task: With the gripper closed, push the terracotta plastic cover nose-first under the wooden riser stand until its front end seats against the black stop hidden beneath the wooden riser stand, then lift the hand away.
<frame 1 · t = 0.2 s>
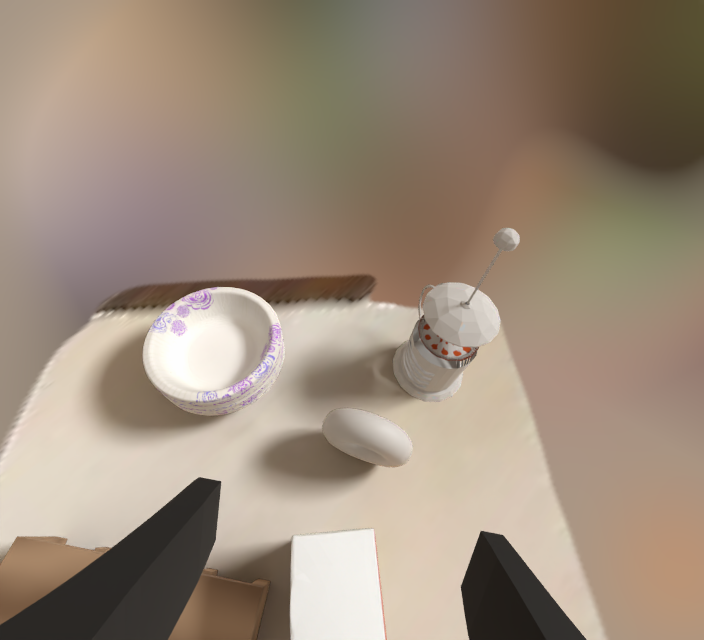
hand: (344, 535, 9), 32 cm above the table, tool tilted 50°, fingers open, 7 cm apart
paper bowls: (229, 367, 45), on the table
small box: (332, 580, 34), on the table
wooden riser stand: (139, 617, 32), on the table
donut: (361, 448, 41), on the table
french press: (425, 362, 48), on the table
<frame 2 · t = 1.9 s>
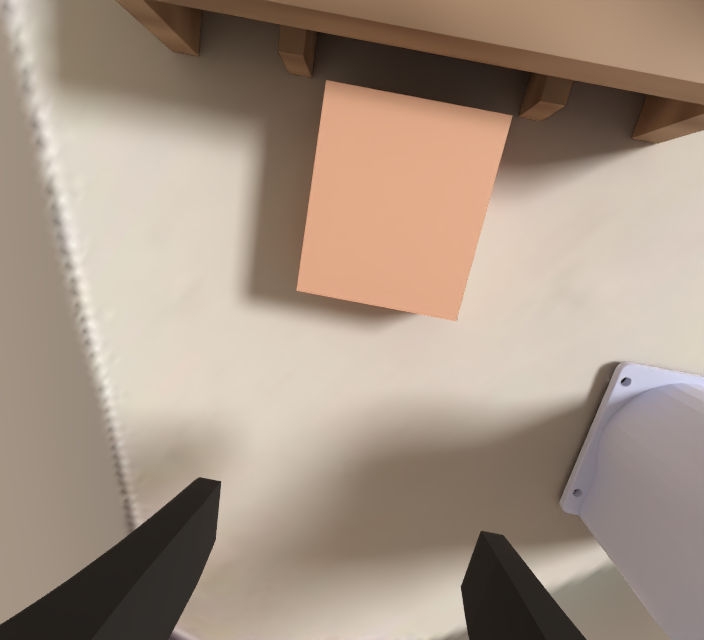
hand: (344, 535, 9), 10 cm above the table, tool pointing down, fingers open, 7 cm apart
cover: (391, 213, 17), on the table
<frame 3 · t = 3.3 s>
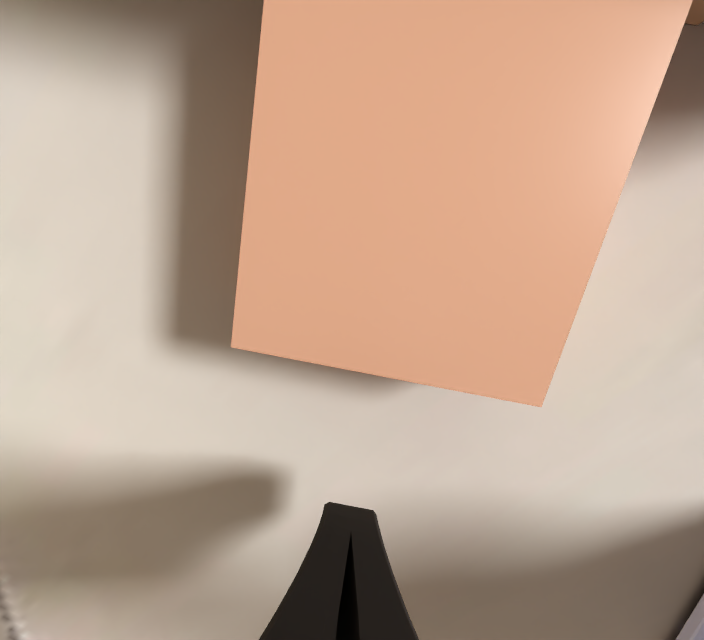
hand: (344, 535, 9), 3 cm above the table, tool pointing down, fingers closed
cover: (411, 200, 9), on the table
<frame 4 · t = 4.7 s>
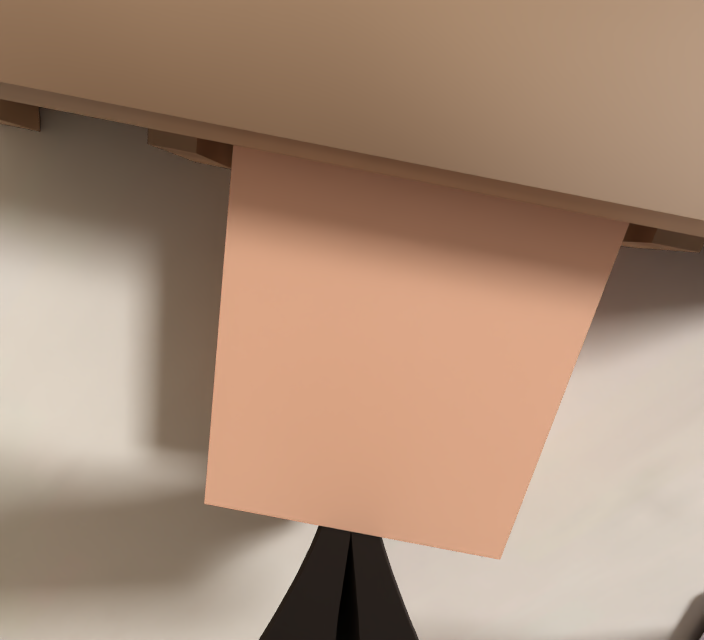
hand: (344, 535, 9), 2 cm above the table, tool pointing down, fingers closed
cover: (382, 332, 10), on the table
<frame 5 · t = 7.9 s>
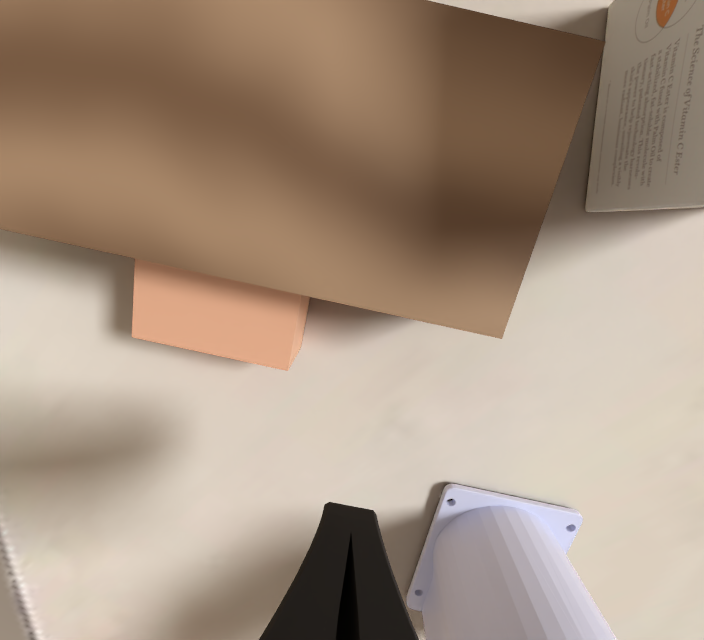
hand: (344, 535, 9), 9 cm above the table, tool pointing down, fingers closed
small box: (665, 112, 15), on the table
wooden riser stand: (257, 161, 16), on the table
cover: (245, 258, 17), on the table
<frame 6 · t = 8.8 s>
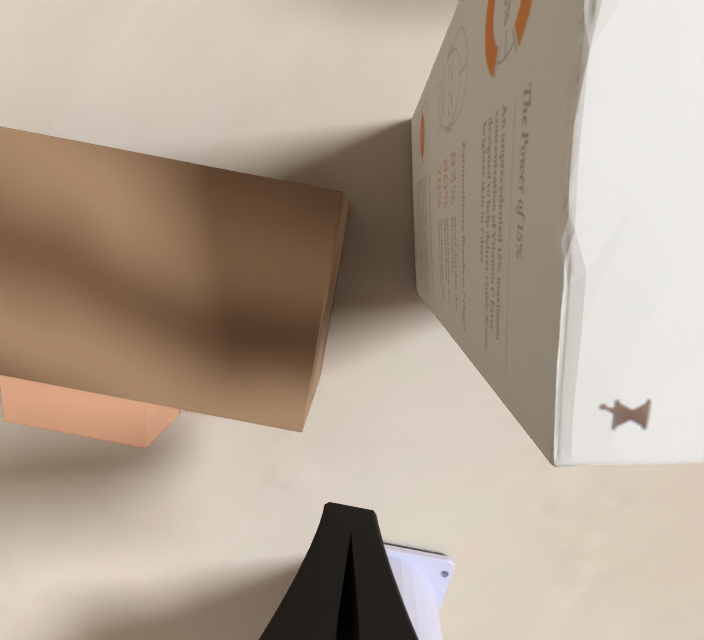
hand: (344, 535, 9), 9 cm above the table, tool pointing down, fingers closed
small box: (480, 205, 16), on the table
wooden riser stand: (119, 254, 17), on the table
cover: (118, 338, 18), on the table
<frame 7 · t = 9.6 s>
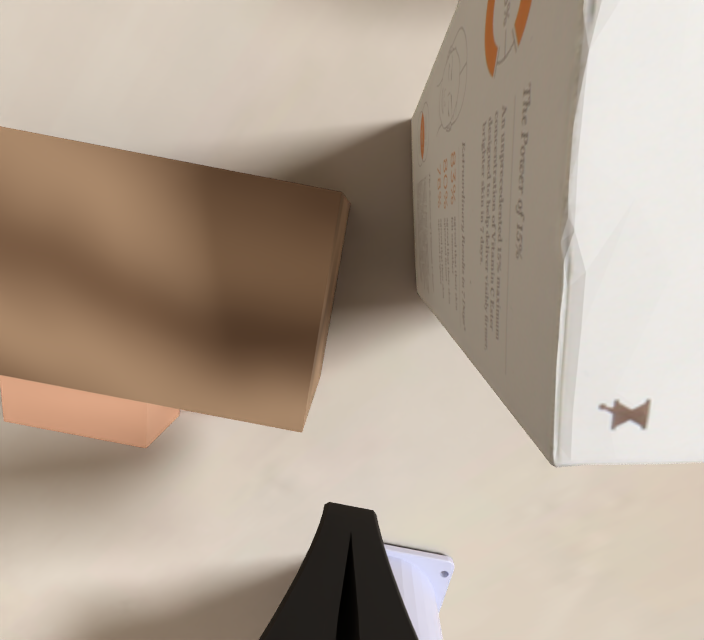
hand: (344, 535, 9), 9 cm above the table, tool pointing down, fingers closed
small box: (480, 205, 16), on the table
wooden riser stand: (119, 254, 17), on the table
cover: (118, 338, 18), on the table
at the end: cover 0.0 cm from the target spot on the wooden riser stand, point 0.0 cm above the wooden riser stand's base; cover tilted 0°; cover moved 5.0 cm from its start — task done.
